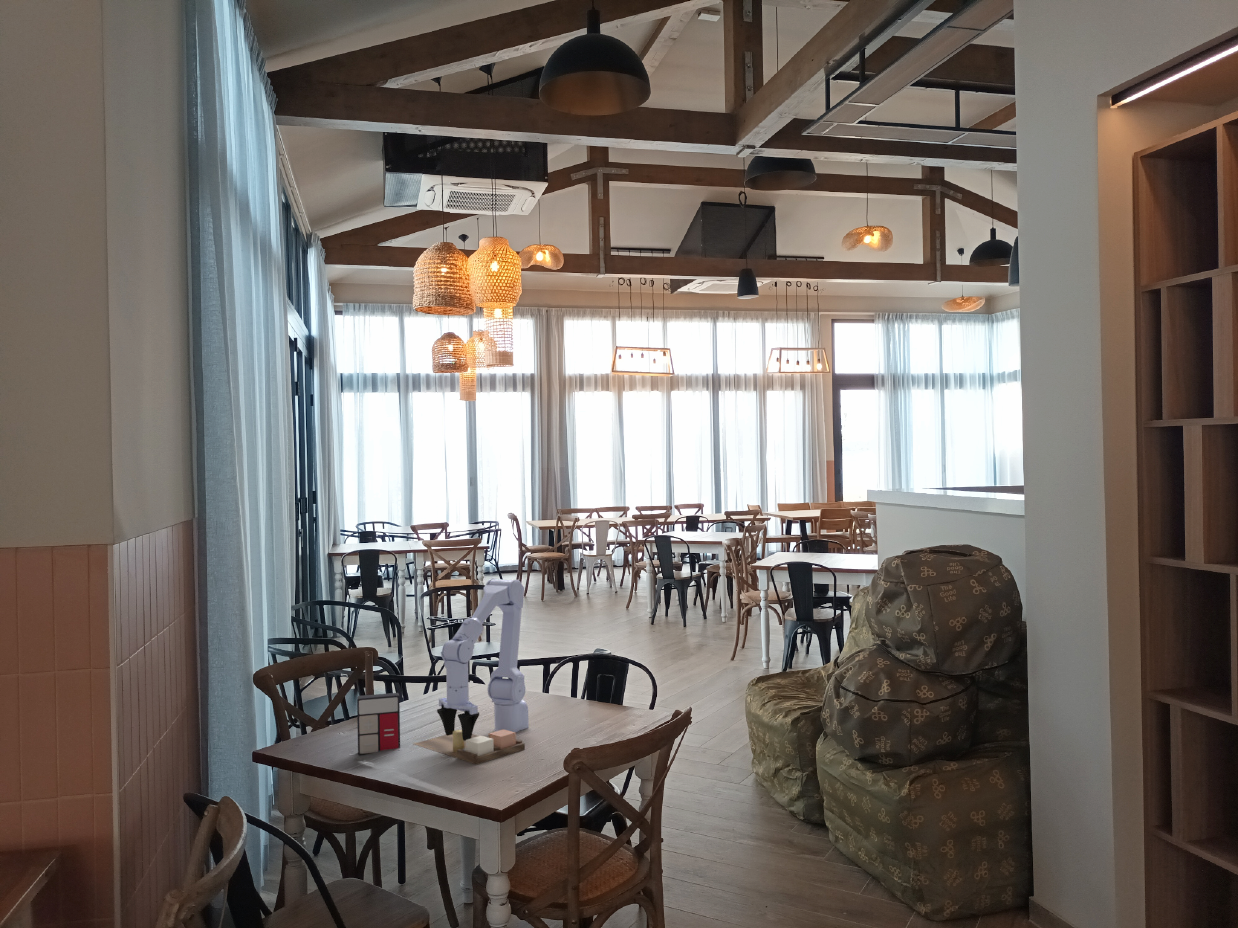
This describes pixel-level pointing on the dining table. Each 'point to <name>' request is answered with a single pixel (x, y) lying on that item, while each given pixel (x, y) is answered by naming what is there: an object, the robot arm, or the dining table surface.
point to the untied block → (503, 738)
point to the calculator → (378, 722)
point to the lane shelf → (446, 747)
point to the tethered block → (472, 744)
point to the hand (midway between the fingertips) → (458, 737)
